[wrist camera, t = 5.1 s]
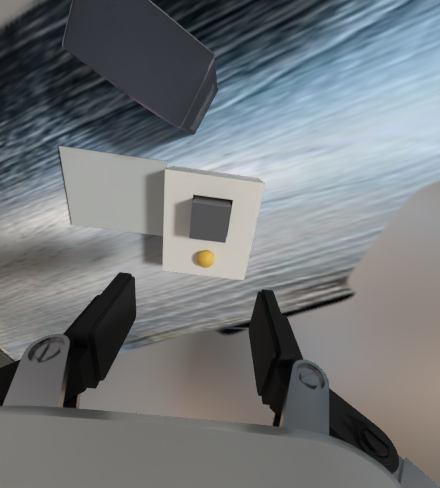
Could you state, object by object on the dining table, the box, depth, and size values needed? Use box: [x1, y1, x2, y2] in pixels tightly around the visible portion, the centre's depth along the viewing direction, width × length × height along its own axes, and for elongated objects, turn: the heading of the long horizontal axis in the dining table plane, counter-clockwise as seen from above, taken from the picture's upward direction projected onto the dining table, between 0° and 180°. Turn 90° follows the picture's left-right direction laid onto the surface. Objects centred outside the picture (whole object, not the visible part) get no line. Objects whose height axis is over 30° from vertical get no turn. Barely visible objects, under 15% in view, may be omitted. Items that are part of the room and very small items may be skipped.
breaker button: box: [189, 195, 231, 243], centre depth 27 cm, size 4×4×6 cm
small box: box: [62, 0, 218, 134], centre depth 21 cm, size 11×6×10 cm, turn 57°
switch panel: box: [162, 166, 265, 280], centre depth 29 cm, size 12×14×6 cm
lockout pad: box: [59, 146, 167, 236], centre depth 30 cm, size 14×11×1 cm
